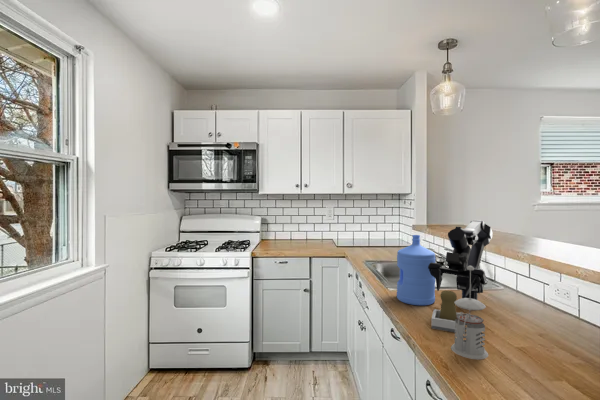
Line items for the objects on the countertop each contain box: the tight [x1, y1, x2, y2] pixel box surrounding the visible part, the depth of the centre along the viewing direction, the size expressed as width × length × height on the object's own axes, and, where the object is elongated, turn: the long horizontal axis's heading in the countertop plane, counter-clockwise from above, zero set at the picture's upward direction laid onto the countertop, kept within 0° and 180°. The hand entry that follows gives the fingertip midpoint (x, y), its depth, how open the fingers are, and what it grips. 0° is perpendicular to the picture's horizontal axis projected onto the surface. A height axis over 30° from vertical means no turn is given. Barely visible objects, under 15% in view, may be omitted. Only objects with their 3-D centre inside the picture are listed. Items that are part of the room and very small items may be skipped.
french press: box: [450, 266, 489, 360], centre depth 95 cm, size 10×12×25 cm
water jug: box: [396, 234, 436, 306], centre depth 141 cm, size 16×16×28 cm
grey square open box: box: [430, 308, 464, 334], centre depth 114 cm, size 10×10×4 cm
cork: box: [439, 290, 458, 321], centre depth 114 cm, size 6×6×11 cm
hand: (451, 292), depth 116 cm, fingers open, 9 cm apart
